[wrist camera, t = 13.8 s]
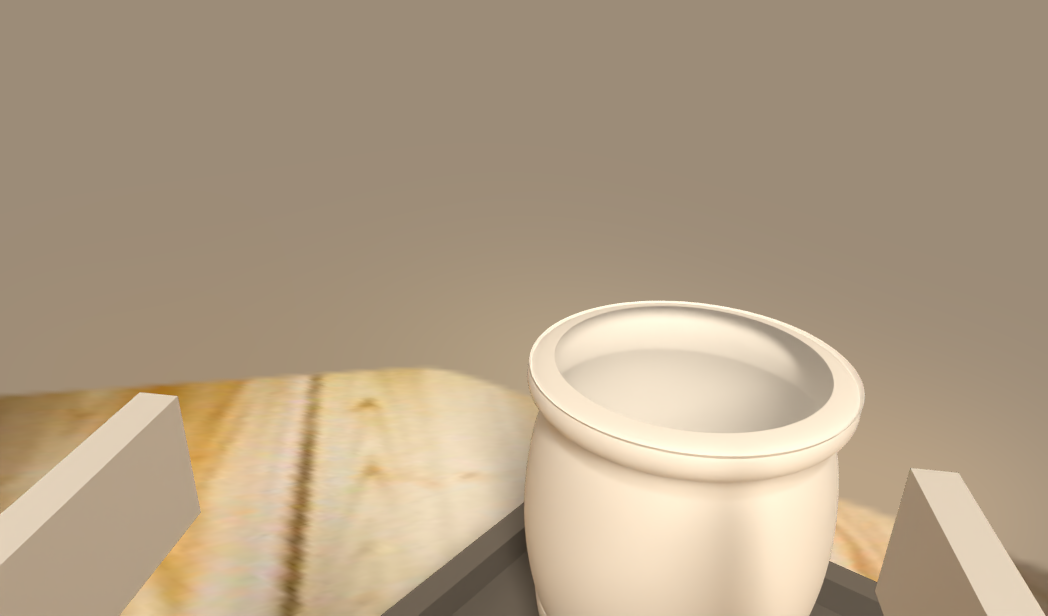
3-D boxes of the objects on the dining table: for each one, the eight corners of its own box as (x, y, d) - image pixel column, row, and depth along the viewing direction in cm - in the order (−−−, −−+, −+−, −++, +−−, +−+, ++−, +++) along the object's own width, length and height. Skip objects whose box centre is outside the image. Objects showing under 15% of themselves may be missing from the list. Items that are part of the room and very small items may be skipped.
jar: (772, 609, 35) (830, 308, 29) (811, 844, 25) (908, 472, 19) (541, 578, 36) (549, 286, 30) (498, 788, 27) (497, 429, 21)
